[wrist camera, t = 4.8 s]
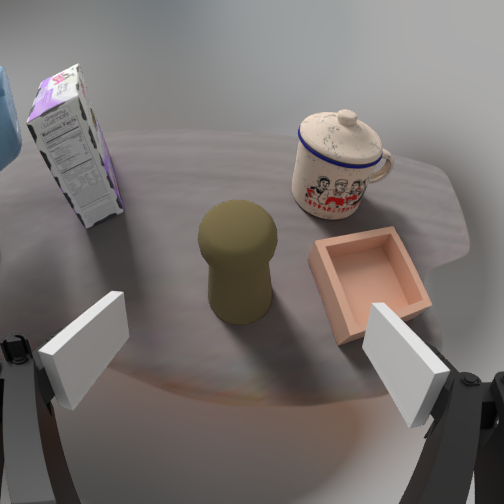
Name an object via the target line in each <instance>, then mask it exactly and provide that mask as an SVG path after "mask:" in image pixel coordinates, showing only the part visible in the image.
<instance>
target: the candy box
mask: <svg viewBox="0 0 504 504" xmlns="http://www.w3.org/2000/svg"><path fill="white" fill-rule="evenodd" d="M26 124H27V126H28V128H29V131H30V132H31V134H32V137H33V139H34V141H35V143H36V145H37V147H38V149H39V151H40V153H41V155H42V156H43V158H44V160H45V162H46V164H47V166H48V168H49V169H50V171H51V173H52V175H53V177H54V178H55V180H56V182H57V184H58V185H59V187H60V189H61V191H62V192H63V194H64V195H65V197H66V199H67V200H68V202H69V204H70V205H71V207H72V209H73V210H74V212H75V213H76V215H77V216H78V218H79V219H80V221H81V222H82V224H83V226H84V227H85V229H87V228H89V227H92V226H94V225H96V224H98V223H100V222H102V221H105V220H107V219H109V218H112V217H114V216H116V215H118V214H121V213H123V212H124V207H123V203H122V199H121V196H120V193H119V189H118V185H117V181H116V178H115V174H114V170H113V167H112V163H111V158H110V154H109V151H108V148H107V145H106V143H105V140H104V137H103V134H102V132H101V129H100V126H99V124H98V120H97V118H96V115H95V112H94V109H93V106H92V103H91V100H90V97H89V94H88V90H87V87H86V84H85V81H84V78H83V74H82V71H81V68H80V65H79V64H76V65H74V66H72V67H70V68H67V69H65V70H63V71H61V72H59V73H57V74H56V75H54V76H51V77H49V78H48V79H46V80H44V81H42V82H41V84H40V87H39V90H38V92H37V95H36V98H35V100H34V103H33V106H32V109H31V111H30V114H29V117H28V120H27V123H26Z"/></svg>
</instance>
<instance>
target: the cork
mask: <svg viewBox="0 0 504 504" xmlns="http://www.w3.org/2000/svg"><path fill="white" fill-rule="evenodd" d="M277 241H278V240H277V229H276V225H275V223H274V221H273V219H272V217H271V216H270V215H269V214H268V213H267V212H266V211H265V210H264V209H263V208H262V207H261V206H259V205H257V204H255V203H254V202H250V201H246V200H230V201H226V202H222V203H220V204H218V205H217V206H215V207H213V208H212V209H211V210H210V211H209V212H208V213H207V214H206V215H205V216H204V218H203V220H202V222H201V224H200V227H199V233H198V243H199V247H200V251H201V255H202V256H203V258H204V259H205V260H206V262H207V263H208V265H209V282H208V300H209V303H210V307H211V309H212V310H213V312H214V313H215V314H216V316H218V317H219V318H220V319H222V320H223V321H225V322H228V323H231V324H234V325H246V324H249V323H252V322H255V321H257V320H258V319H260V318H261V317H263V316H264V315H265V313H266V312H267V311H268V309H269V308H270V305H271V301H272V286H271V278H270V270H269V261H270V260H271V258H272V257H273V255H274V252H275V249H276V246H277Z"/></svg>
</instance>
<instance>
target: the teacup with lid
mask: <svg viewBox="0 0 504 504" xmlns="http://www.w3.org/2000/svg"><path fill="white" fill-rule="evenodd" d="M298 136H299V144H298V150H297V157H296V163H295V169H294V175H293V181H292V193H293V196H294V198H295V200H296V202H297V203H298V204H299V205H300V206H301V207H302V208H303V209H304V210H306V211H307V212H309V213H310V214H312V215H314V216H317V217H320V218H323V219H330V220H336V219H343V218H346V217H348V216H350V215H351V214H353V213H354V212H355V211H356V210H357V208H358V206H359V204H360V202H361V199H362V197H363V195H364V193H365V190H366V188H367V186H368V184H370V183H376V182H379V181H381V180H382V179H384V178H385V177H386V176H387V175H388V174H389V173H390V172H391V170H392V169H393V166H394V159H393V157H392V155H391V154H390V153H389V152H388V151H387V150H384V149H383V147H382V143H381V140H380V138H379V137H378V135H377V134H376V133H375V132H374V131H373V130H372V129H371V128H370V127H369V126H368V125H366V124H365V123H363V122H361V121H359V120H357V116H356V114H355V113H354V112H352V111H350V110H340V111H339V112H338V113H331V112H323V113H317V114H313V115H311V116H309V117H307V118H306V119H305V120H304V121H303V122H302V124H301V125H300V127H299V130H298ZM381 158H385V159H387V160H386V163H385V165H384V166H383V167H382V168H381V169H380V170H379V171H377V172H376V173H373V171H374V169H375V166H376V164H377V163H378V162H379V161H380V160H381Z"/></svg>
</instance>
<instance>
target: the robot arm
mask: <svg viewBox="0 0 504 504" xmlns="http://www.w3.org/2000/svg"><path fill="white" fill-rule="evenodd" d="M21 146H22V139H21V132H20V127H19V122H18V118H17V113H16V109H15V105H14V100H13V96H12V93H11V88H10V84H9V81H8V77H7V75H6V72H5V69H4V67H2V66H0V171H2V170H3V169H4V168H5V167H6V166H7V165H8V164H10V163H11V162H12V161H13V160H14V159H15V158H16V157H17V156H18V155H19V153H20V150H21ZM129 337H130V335H129V329H128V322H127V315H126V308H125V299H124V292H118V291H111V292H110V293H108V294H107V295H106V296H104V297H103V298H102V299H101V300H99V301H98V302H97V303H95V304H94V305H93V306H92V307H90V308H89V309H88V310H87V311H85V312H84V313H83V314H82V315H80V316H79V317H78V318H77V319H76V320H74V321H73V322H72V323H71V324H69V325H68V326H67V327H65V328H62V329H60V330H58V331H57V332H55V333H54V334H53V335H52V336H51V337H49V338H48V339H47V340H46V341H44V342H43V343H42V344H41V345H40V346H38V347H37V348H36V349H35V350H34V351H33V352H31V348H30V345H29V342H28V339H27V336H26V335H24V334H20V333H17V334H11V335H8V336H6V337H5V338H3V339H2V340H1V342H0V345H1V348H2V351H3V353H4V356H5V359H6V360H0V497H1V484H2V475H3V468H4V461H5V468H6V476H7V482H8V489H9V494H10V500H11V504H81V503H80V500H79V498H78V495H77V492H76V490H75V487H74V484H73V481H72V479H71V475H70V473H69V469H68V466H67V463H66V459H65V456H64V452H63V449H62V445H61V441H60V437H59V433H58V428H57V424H56V419H55V414H54V409H53V405H52V403H51V399H52V398H53V397H54V396H55V397H56V399H57V402H58V404H59V406H61V407H64V408H66V409H69V410H72V411H74V410H75V408H76V407H77V406H78V404H79V403H80V401H81V400H82V399H83V397H84V396H85V395H86V393H87V392H88V391H89V389H90V388H91V387H92V385H93V384H94V383H95V381H96V380H97V379H98V377H99V376H100V375H101V373H102V372H103V371H104V369H105V368H106V367H107V366H108V364H109V363H110V362H111V360H112V359H113V358H114V356H115V355H116V354H117V353H118V351H119V350H120V349H121V347H122V346H123V345H124V344H125V342H126V341H127V340H128V339H129ZM362 348H363V350H364V351H365V353H366V355H367V356H368V358H369V360H370V361H371V363H372V365H373V366H374V368H375V370H376V371H377V373H378V375H379V376H380V378H381V380H382V381H383V383H384V385H385V386H386V388H387V390H388V392H389V393H390V395H391V397H392V399H393V400H394V402H395V404H396V405H397V407H398V409H399V411H400V412H401V414H402V416H403V418H404V419H405V421H406V423H407V425H408V427H409V428H413V427H417V426H421V425H424V424H425V423H426V421H427V419H428V417H429V415H430V414H431V415H432V417H433V418H434V421H433V423H432V425H431V426H430V428H429V430H428V432H427V433H426V435H425V437H424V438H427V439H426V442H425V444H424V447H423V450H422V453H421V455H420V458H419V461H418V463H417V465H416V468H415V470H414V473H413V475H412V477H411V480H410V482H409V484H408V486H407V488H406V490H405V492H404V495H403V496H402V498H401V501H400V502H399V504H466V500H467V497H468V493H469V489H470V485H471V480H472V476H473V471H474V479H475V504H504V372H498V373H497V374H496V375H495V377H494V379H493V381H492V382H488V383H487V382H486V383H482V382H481V380H480V378H479V377H477V376H476V375H474V374H472V373H468V372H461V373H459V372H458V371H457V370H456V369H455V368H454V367H453V366H452V364H451V363H450V362H448V360H447V359H445V357H444V356H443V355H442V354H440V352H439V351H438V350H437V349H436V348H435V347H433V346H432V345H430V344H428V343H426V342H425V343H424V342H423V341H422V340H421V339H420V338H419V337H418V336H417V335H416V334H415V333H414V332H413V331H412V330H411V329H410V328H409V327H408V326H407V325H406V324H405V323H404V322H403V321H402V320H401V319H400V318H399V317H398V316H397V315H396V314H395V313H394V312H393V311H392V310H391V309H390V308H389V307H388V306H387V305H386V304H385V303H371V308H370V313H369V318H368V323H367V328H366V332H365V337H364V341H363V346H362ZM498 420H499V422H498V424H497V421H498Z"/></svg>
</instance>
